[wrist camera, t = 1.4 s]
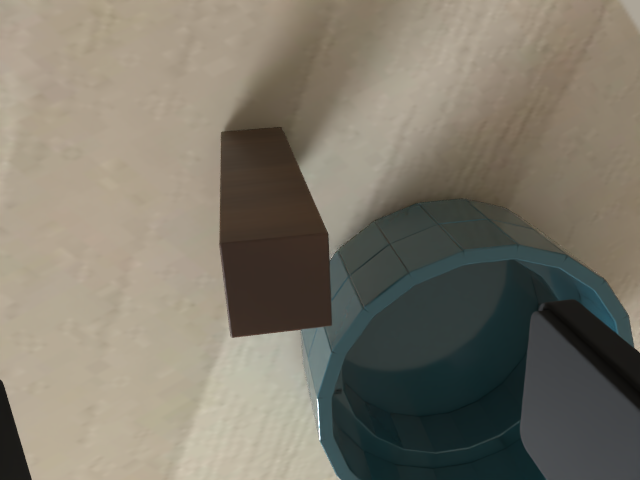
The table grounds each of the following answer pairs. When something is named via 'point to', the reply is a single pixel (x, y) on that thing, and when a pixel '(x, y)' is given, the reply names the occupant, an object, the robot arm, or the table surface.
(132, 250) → the table surface
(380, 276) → the bowl
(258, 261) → the stick
